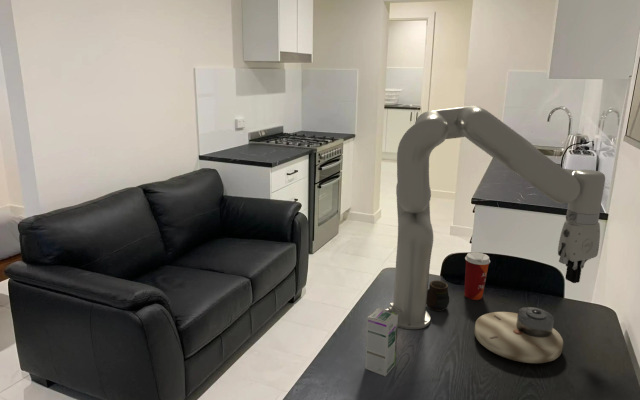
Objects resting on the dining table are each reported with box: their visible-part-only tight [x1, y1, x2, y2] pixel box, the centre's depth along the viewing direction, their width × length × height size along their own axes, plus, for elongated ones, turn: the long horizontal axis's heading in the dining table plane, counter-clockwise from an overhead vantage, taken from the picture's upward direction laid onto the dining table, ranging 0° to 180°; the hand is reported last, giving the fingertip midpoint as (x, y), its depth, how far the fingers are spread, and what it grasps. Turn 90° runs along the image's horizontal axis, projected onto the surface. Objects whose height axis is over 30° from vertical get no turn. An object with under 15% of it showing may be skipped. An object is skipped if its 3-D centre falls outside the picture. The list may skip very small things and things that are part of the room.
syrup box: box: [364, 307, 398, 377], centre depth 117 cm, size 6×6×14 cm
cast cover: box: [516, 306, 555, 337], centre depth 130 cm, size 9×9×5 cm
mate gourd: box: [426, 279, 450, 312], centre depth 147 cm, size 7×8×10 cm
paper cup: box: [464, 251, 491, 301], centre depth 155 cm, size 8×8×14 cm
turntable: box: [474, 311, 564, 364], centre depth 129 cm, size 22×22×2 cm
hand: (572, 280), depth 131 cm, fingers closed
